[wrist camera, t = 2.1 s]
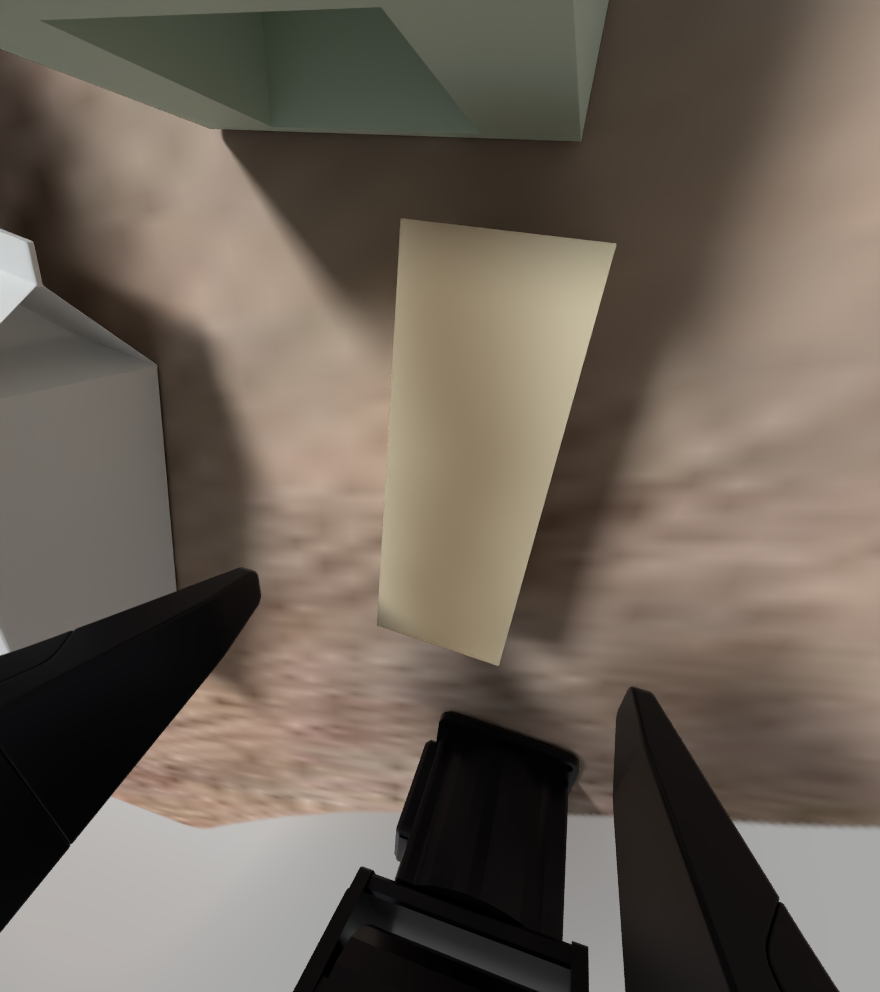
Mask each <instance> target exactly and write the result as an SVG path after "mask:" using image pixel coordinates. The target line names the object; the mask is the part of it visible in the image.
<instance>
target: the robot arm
mask: <svg viewBox="0 0 880 992" xmlns="http://www.w3.org/2000/svg"><path fill="white" fill-rule="evenodd" d="M260 599H261V591H260V585H259V578H258V574H257V573H256V572H255V571H253V570H250V569H247V568H242V567H241V568H237V569H234V570H232V571H229V572H226V573H224V574H221V575H218V576H216V577H213V578H210V579H208V580H205V581H202V582H200V583H197V584H194V585H192V586H189V587H186V588H184V589H181V590H178V591H175V592H173V593H170V594H167V595H165V596H162V597H159V598H157V599H154V600H151V601H149V602H146V603H143V604H141V605H138V606H135V607H133V608H130V609H127V610H125V611H122V612H119V613H117V614H114V615H111V616H108V617H106V618H103V619H100V620H98V621H95V622H92V623H90V624H87V625H84V626H82V627H79V628H77V629H75V630H74V631H73V630H71V631H68V632H65V633H63V634H60V635H57V636H55V637H52V638H49V639H47V640H44V641H41V642H38V643H35V644H33V645H30V646H27V647H24V648H21V649H18V650H15V651H12V652H9V653H6V654H3V655H0V932H1V931H2V930H3V929H4V927H5V926H6V925H7V924H8V923H9V921H10V920H11V919H12V918H13V916H14V915H15V914H16V913H17V911H18V910H19V909H20V908H21V906H22V905H23V904H24V903H25V901H26V900H27V899H28V898H29V897H30V895H31V894H32V893H33V891H34V890H35V889H36V888H37V887H38V886H39V884H40V883H41V882H42V881H43V879H44V878H45V877H46V876H47V874H48V873H49V872H50V871H51V870H52V868H53V867H54V866H55V865H56V863H57V862H58V861H59V860H60V858H61V857H62V856H63V855H64V854H65V852H66V851H67V850H68V849H69V847H70V844H72V843H73V842H74V841H75V840H76V838H77V837H78V836H79V835H80V833H81V832H82V831H83V830H84V828H85V827H86V826H87V825H88V823H89V822H90V821H91V820H92V819H93V817H94V816H95V815H96V814H97V812H98V811H99V810H100V809H101V808H102V806H103V805H104V804H105V803H106V801H107V800H108V799H109V798H110V796H111V795H112V794H113V793H114V791H115V790H116V789H117V788H118V787H119V785H120V784H121V783H122V782H123V780H124V779H125V778H126V777H127V775H128V774H129V773H130V772H131V771H132V769H133V768H134V767H135V766H136V764H137V763H138V762H139V761H140V759H141V758H142V757H143V756H144V755H145V753H146V752H147V751H148V750H149V748H150V747H151V746H152V745H153V743H154V742H155V741H156V740H157V738H158V737H159V736H160V735H161V734H162V732H163V731H164V730H165V729H166V727H167V726H168V725H169V724H170V722H171V721H172V720H173V719H174V718H175V716H176V715H177V714H178V713H179V711H180V710H181V709H182V708H183V706H184V705H185V704H186V703H187V701H188V700H189V699H190V698H191V697H192V695H193V694H194V693H195V692H196V690H197V689H198V688H199V687H200V685H201V684H202V683H203V682H204V681H205V679H206V678H207V677H208V676H209V674H210V673H211V672H212V671H213V669H214V668H215V667H216V666H217V664H218V663H219V662H220V661H221V659H222V658H223V657H224V655H225V654H226V653H227V651H228V650H229V648H230V647H231V645H232V644H233V642H234V641H235V639H236V638H237V636H238V635H239V633H240V632H241V630H242V629H243V627H244V626H245V624H246V623H247V621H248V620H249V618H250V617H251V615H252V614H253V612H254V611H255V609H256V608H257V606H258V604H259V602H260ZM578 773H579V760H578V758H577V757H576V756H575V755H573V754H571V753H568V752H565V751H562V750H559V749H556V748H553V747H551V746H548V745H545V744H542V743H539V742H536V741H533V740H530V739H528V738H525V737H522V736H519V735H516V734H513V733H510V732H507V731H505V730H502V729H499V728H496V727H493V726H490V725H487V724H484V723H482V722H479V721H476V720H473V719H470V718H467V717H464V716H461V715H459V714H456V713H453V712H444V713H443V714H442V716H441V719H440V722H439V727H438V734H437V741H436V742H435V741H433V740H430V741H428V742H427V743H426V744H425V747H424V750H423V753H422V756H421V758H420V761H419V764H418V767H417V770H416V773H415V776H414V779H413V782H412V785H411V787H410V790H409V793H408V796H407V799H406V802H405V805H404V808H403V811H402V813H401V816H400V819H399V822H398V825H397V828H396V841H395V856H396V859H397V861H400V865H399V868H398V871H397V874H396V877H395V881H393V880H390V879H387V878H384V877H382V876H379V875H376V874H375V873H374V871H373V870H371V869H368V868H365V867H360V869H359V870H358V873H357V874H356V876H355V878H354V880H353V882H352V884H351V886H350V888H348V889H347V890H346V892H345V894H344V896H343V897H342V900H341V901H340V903H339V905H338V907H337V909H336V911H335V913H334V915H333V917H332V918H331V920H330V922H329V924H328V926H327V928H326V930H325V932H324V934H323V936H322V937H321V939H320V941H319V943H318V945H317V947H316V949H315V951H314V953H313V955H312V956H311V958H310V960H309V962H308V964H307V966H306V968H305V970H304V972H303V974H302V976H301V978H300V980H299V981H298V984H297V985H296V987H295V989H294V991H293V992H589V972H588V970H589V968H588V946H585V945H582V944H579V943H576V942H573V941H572V944H569V943H566V942H563V941H562V939H563V938H562V937H563V915H564V913H563V912H564V889H565V886H564V885H565V861H566V838H567V837H566V836H567V812H568V795H569V792H570V790H571V788H572V786H573V784H574V781H575V779H576V777H577V775H578ZM613 812H614V827H615V840H616V841H615V842H616V857H617V871H618V885H619V902H620V916H621V932H622V947H623V962H624V977H625V991H626V992H839V990H838V989H837V987H836V986H835V985H834V983H833V981H832V980H831V978H830V977H829V975H828V974H827V972H826V970H825V969H824V967H823V966H822V964H821V963H820V961H819V960H818V958H817V956H816V955H815V953H814V952H813V950H812V949H811V947H810V945H809V944H808V942H807V941H806V939H805V938H804V936H803V935H802V933H801V931H800V930H799V928H798V926H797V925H796V923H795V922H794V920H793V918H792V917H791V915H790V914H789V912H788V910H787V909H786V907H785V906H784V904H783V903H781V902H779V896H778V895H777V893H776V892H775V890H774V888H773V886H772V885H771V883H770V882H769V880H768V878H767V877H766V875H765V874H764V872H763V870H762V869H761V867H760V865H759V864H758V862H757V861H756V859H755V858H754V856H753V854H752V853H751V851H750V850H749V848H748V846H747V845H746V843H745V841H744V840H743V838H742V836H741V835H740V833H739V832H738V830H737V829H736V827H735V825H734V823H733V822H732V820H731V819H730V817H729V815H728V814H727V812H726V811H725V809H724V807H723V806H722V804H721V802H720V801H719V799H718V798H717V796H716V794H715V793H714V791H713V790H712V788H711V786H710V785H709V783H708V781H707V780H706V778H705V777H704V775H703V773H702V772H701V770H700V769H699V767H698V765H697V764H696V762H695V760H694V759H693V757H692V756H691V754H690V752H689V751H688V749H687V748H686V746H685V744H684V743H683V741H682V739H681V738H680V736H679V735H678V733H677V731H676V730H675V728H674V727H673V725H672V723H671V722H670V720H669V718H668V717H667V715H666V714H665V712H664V710H663V709H662V707H661V706H660V704H659V702H658V701H657V699H656V697H655V696H654V695H653V694H652V693H651V692H650V691H647V690H644V689H641V688H637V687H634V686H632V687H630V688H629V689H628V690H627V693H626V695H625V697H624V699H623V701H622V703H621V705H620V707H619V709H618V712H617V717H616V733H615V756H614V779H613Z"/></svg>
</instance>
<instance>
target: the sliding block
mask: <svg viewBox="0 0 880 992" xmlns="http://www.w3.org/2000/svg"><path fill="white" fill-rule="evenodd" d="M608 3H609V0H0V49H2V50H4V51H7V52H9V53H12V54H15V55H17V56H20V57H23V58H25V59H28V60H31V61H33V62H36V63H38V64H41V65H44V66H46V67H49V68H52V69H54V70H57V71H59V72H62V73H65V74H67V75H70V76H73V77H75V78H78V79H81V80H83V81H86V82H88V83H91V84H94V85H96V86H99V87H102V88H104V89H107V90H109V91H112V92H115V93H117V94H120V95H123V96H125V97H128V98H131V99H133V100H136V101H138V102H141V103H144V104H146V105H149V106H152V107H154V108H157V109H159V110H162V111H165V112H167V113H170V114H173V115H175V116H178V117H180V118H183V119H186V120H188V121H191V122H194V123H196V124H199V125H202V126H204V127H207V128H209V129H230V130H260V131H289V132H318V133H348V134H377V135H406V136H435V137H465V138H494V139H523V140H553V141H581V140H582V135H583V130H584V125H585V120H586V114H587V109H588V104H589V99H590V94H591V89H592V84H593V79H594V74H595V69H596V64H597V59H598V54H599V48H600V43H601V38H602V33H603V28H604V23H605V18H606V13H607V8H608Z"/></svg>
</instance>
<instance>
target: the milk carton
mask: <svg viewBox="0 0 880 992" xmlns="http://www.w3.org/2000/svg"><path fill="white" fill-rule="evenodd" d="M157 366H158V365H156V364H155V363H154V362H152V361H151V360H149V359H148V358H146V357H145V356H144V355H142V354H141V353H139V352H138V351H136V350H135V349H134V348H132V347H131V346H129V345H128V344H126V343H125V342H123V341H122V340H121V339H119V338H118V337H116V336H115V335H113V334H112V333H110V332H109V331H108V330H106V329H105V328H103V327H102V326H100V325H99V324H98V323H96V322H95V321H93V320H92V319H90V318H89V317H87V316H86V315H85V314H83V313H82V312H80V311H79V310H77V309H76V308H75V307H73V306H72V305H70V304H69V303H67V302H66V301H64V300H63V299H62V298H60V297H59V296H57V295H56V294H54V293H53V292H52V291H50V290H49V289H47V288H46V287H44V286H43V284H42V279H41V275H40V270H39V265H38V261H37V256H36V251H35V246H34V243H33V241H31V240H28V239H26V238H23V237H20V236H18V235H15V234H13V233H10V232H8V231H5V230H2V229H0V655H3V654H6V653H9V652H12V651H15V650H18V649H21V648H24V647H27V646H30V645H33V644H35V643H38V642H41V641H44V640H47V639H49V638H52V637H55V636H57V635H60V634H63V633H65V632H68V631H71V630H73V631H74V630H75V629H77V628H79V627H82V626H84V625H87V624H90V623H92V622H95V621H98V620H100V619H103V618H106V617H108V616H111V615H114V614H117V613H119V612H122V611H125V610H127V609H130V608H133V607H135V606H138V605H141V604H143V603H146V602H149V601H151V600H154V599H157V598H159V597H162V596H165V595H167V594H170V593H173V592H175V591H177V590H176V578H175V567H174V556H173V544H172V533H171V521H170V510H169V498H168V487H167V475H166V464H165V452H164V441H163V429H162V418H161V406H160V395H159V383H158V372H157Z"/></svg>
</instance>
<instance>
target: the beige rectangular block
mask: <svg viewBox="0 0 880 992" xmlns="http://www.w3.org/2000/svg"><path fill="white" fill-rule="evenodd" d="M616 245H617V244H616V243H608V242H599V241H591V240H582V239H574V238H565V237H556V236H548V235H539V234H531V233H522V232H514V231H505V230H497V229H488V228H480V227H471V226H463V225H454V224H446V223H437V222H429V221H420V220H412V219H403V218H401V220H400V238H399V255H398V272H397V290H396V307H395V324H394V342H393V359H392V377H391V394H390V411H389V429H388V446H387V463H386V481H385V498H384V515H383V533H382V550H381V567H380V585H379V602H378V619H377V625H378V626H381V627H384V628H387V629H390V630H393V631H396V632H399V633H402V634H404V635H407V636H410V637H413V638H416V639H419V640H422V641H425V642H428V643H431V644H434V645H437V646H440V647H443V648H446V649H449V650H452V651H455V652H458V653H461V654H464V655H467V656H470V657H473V658H476V659H479V660H482V661H485V662H488V663H491V664H494V665H497V666H499V664H500V660H501V656H502V653H503V649H504V646H505V642H506V638H507V635H508V631H509V628H510V624H511V621H512V617H513V613H514V610H515V606H516V603H517V599H518V595H519V592H520V588H521V585H522V581H523V578H524V574H525V570H526V567H527V563H528V560H529V556H530V553H531V549H532V545H533V542H534V538H535V535H536V531H537V527H538V524H539V520H540V517H541V513H542V510H543V506H544V502H545V499H546V495H547V492H548V488H549V484H550V481H551V477H552V474H553V470H554V467H555V463H556V459H557V456H558V452H559V449H560V445H561V441H562V438H563V434H564V431H565V427H566V424H567V420H568V416H569V413H570V409H571V406H572V402H573V399H574V395H575V391H576V388H577V384H578V381H579V377H580V373H581V370H582V366H583V363H584V359H585V356H586V352H587V348H588V345H589V341H590V338H591V334H592V330H593V327H594V323H595V320H596V316H597V313H598V309H599V305H600V302H601V298H602V295H603V291H604V287H605V284H606V280H607V277H608V273H609V270H610V266H611V262H612V259H613V255H614V252H615V248H616Z"/></svg>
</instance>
